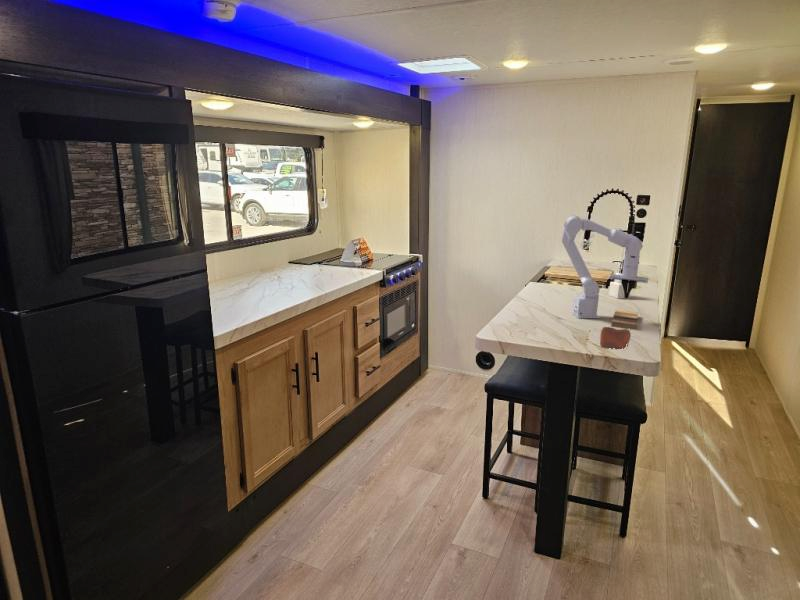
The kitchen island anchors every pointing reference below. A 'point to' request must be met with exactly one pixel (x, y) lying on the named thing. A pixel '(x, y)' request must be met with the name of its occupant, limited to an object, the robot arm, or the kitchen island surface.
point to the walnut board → (624, 322)
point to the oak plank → (626, 314)
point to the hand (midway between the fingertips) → (626, 297)
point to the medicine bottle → (617, 289)
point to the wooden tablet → (614, 338)
